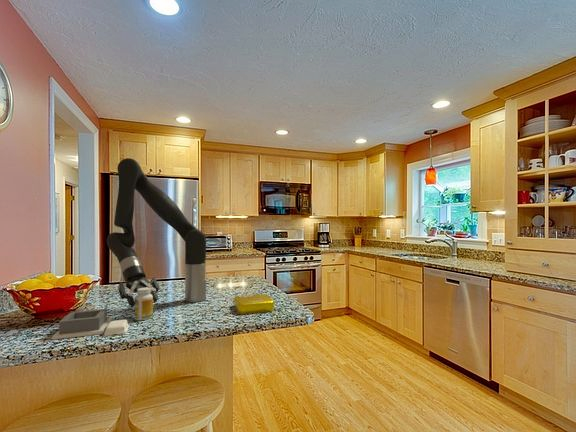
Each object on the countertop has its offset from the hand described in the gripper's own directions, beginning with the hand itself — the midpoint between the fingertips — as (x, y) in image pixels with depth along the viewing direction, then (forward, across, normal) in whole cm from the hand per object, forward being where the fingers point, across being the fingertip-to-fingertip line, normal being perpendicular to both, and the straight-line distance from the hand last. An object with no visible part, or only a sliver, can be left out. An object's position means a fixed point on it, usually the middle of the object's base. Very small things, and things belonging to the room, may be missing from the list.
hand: (145, 303), depth 115 cm
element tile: (+20, +36, -11) cm, 43 cm away
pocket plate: (+1, -18, +8) cm, 20 cm away
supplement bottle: (+4, 0, +5) cm, 6 cm away
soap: (+8, -12, +1) cm, 14 cm away
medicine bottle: (-22, -13, +31) cm, 41 cm away
